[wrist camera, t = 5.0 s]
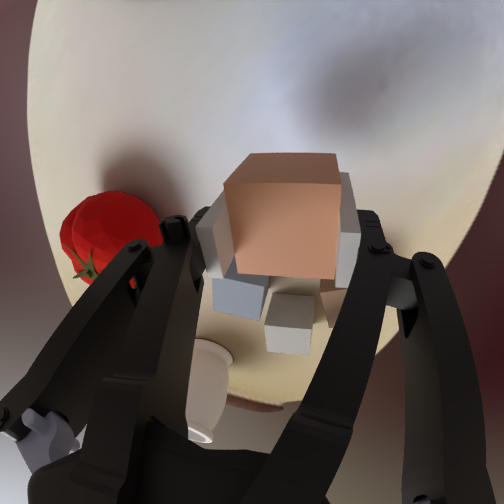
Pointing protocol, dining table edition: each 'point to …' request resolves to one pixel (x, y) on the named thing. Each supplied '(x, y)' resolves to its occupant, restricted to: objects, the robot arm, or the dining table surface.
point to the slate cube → (240, 293)
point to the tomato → (106, 231)
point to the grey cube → (289, 324)
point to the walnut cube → (331, 299)
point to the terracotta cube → (285, 214)
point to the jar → (206, 389)
